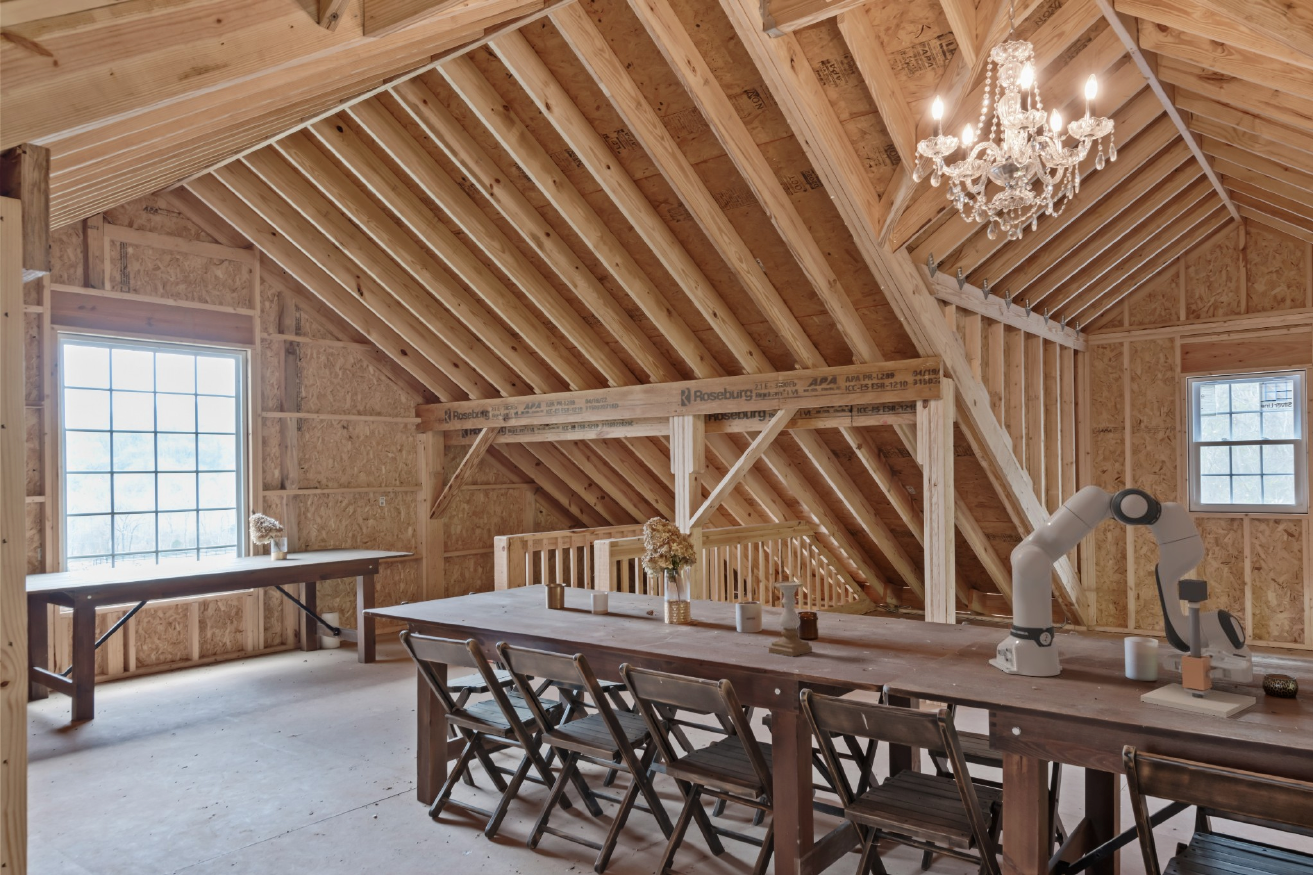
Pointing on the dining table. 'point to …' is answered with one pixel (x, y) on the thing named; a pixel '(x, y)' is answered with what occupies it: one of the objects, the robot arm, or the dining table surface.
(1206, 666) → the sleeve
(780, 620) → the candle holder
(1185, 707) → the post
